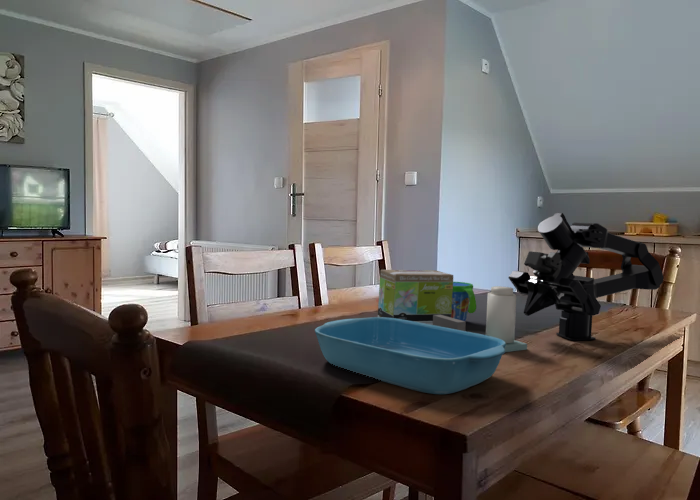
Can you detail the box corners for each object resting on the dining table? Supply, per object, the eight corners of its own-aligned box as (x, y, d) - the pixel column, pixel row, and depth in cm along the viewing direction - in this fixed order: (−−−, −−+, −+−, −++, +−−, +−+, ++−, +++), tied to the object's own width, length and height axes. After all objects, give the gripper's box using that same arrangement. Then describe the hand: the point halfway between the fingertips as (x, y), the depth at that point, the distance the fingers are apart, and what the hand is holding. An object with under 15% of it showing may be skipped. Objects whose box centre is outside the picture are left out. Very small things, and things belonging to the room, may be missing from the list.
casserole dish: (292, 361, 106) (292, 324, 106) (370, 343, 122) (371, 311, 122) (457, 413, 81) (459, 364, 80) (529, 382, 97) (531, 341, 96)
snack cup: (418, 317, 154) (419, 280, 153) (449, 315, 158) (451, 279, 158) (452, 328, 140) (454, 288, 139) (486, 325, 144) (487, 286, 144)
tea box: (392, 338, 127) (394, 273, 126) (376, 329, 136) (378, 268, 135) (451, 335, 132) (454, 273, 131) (432, 327, 141) (434, 268, 140)
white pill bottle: (500, 336, 125) (502, 285, 125) (520, 341, 120) (522, 289, 119) (479, 338, 123) (482, 286, 122) (499, 344, 117) (501, 290, 117)
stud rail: (500, 341, 127) (501, 309, 126) (526, 349, 120) (528, 316, 119) (431, 349, 118) (433, 315, 117) (456, 358, 111) (457, 322, 110)
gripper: (516, 237, 134) (478, 284, 130) (581, 241, 118) (541, 296, 113) (538, 269, 138) (502, 316, 134) (604, 278, 122) (566, 331, 118)
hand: (525, 314), depth 125 cm, fingers closed
